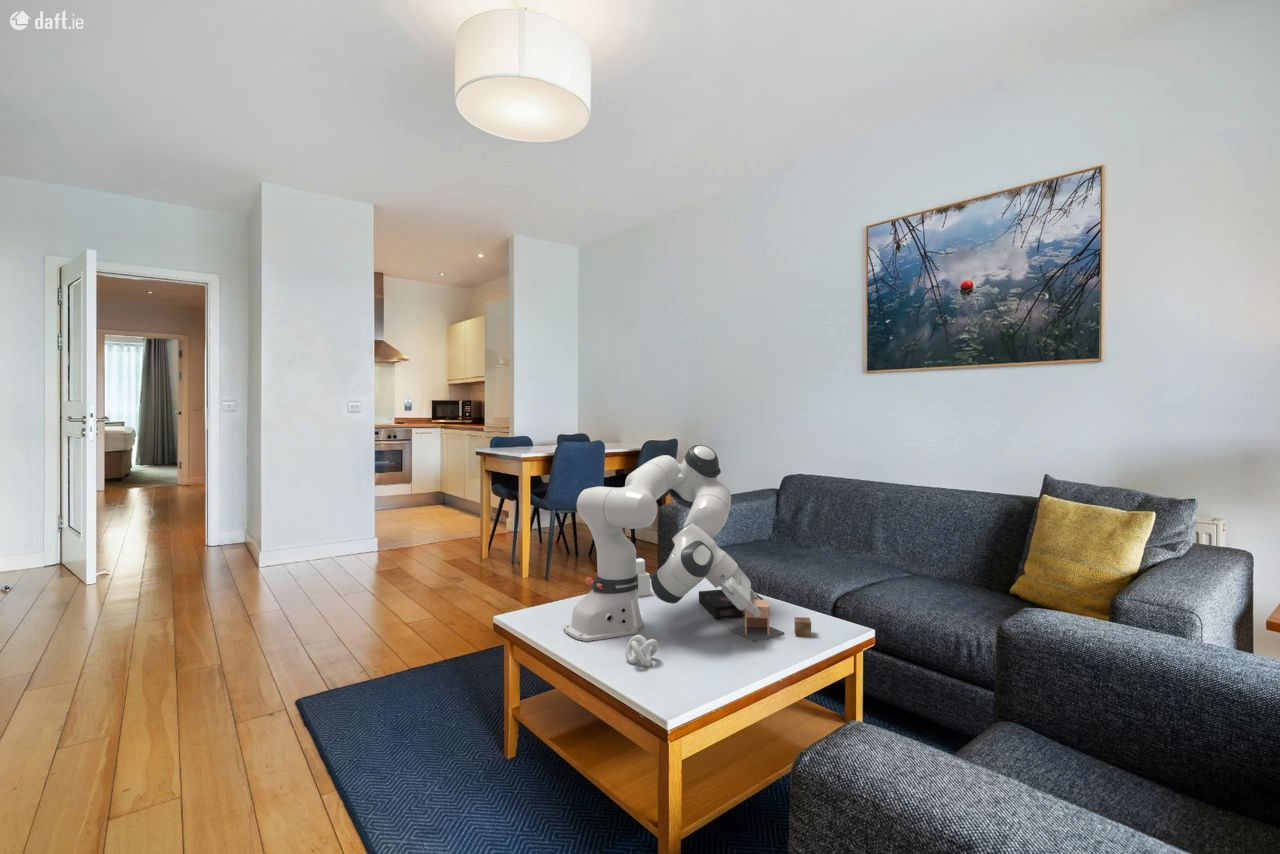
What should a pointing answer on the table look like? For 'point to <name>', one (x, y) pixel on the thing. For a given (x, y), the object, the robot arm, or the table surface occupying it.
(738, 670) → the table surface
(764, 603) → the tan square arch
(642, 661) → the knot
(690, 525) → the robot arm
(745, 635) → the slate mat
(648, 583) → the white block with cylinder
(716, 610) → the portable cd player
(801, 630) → the walnut block
